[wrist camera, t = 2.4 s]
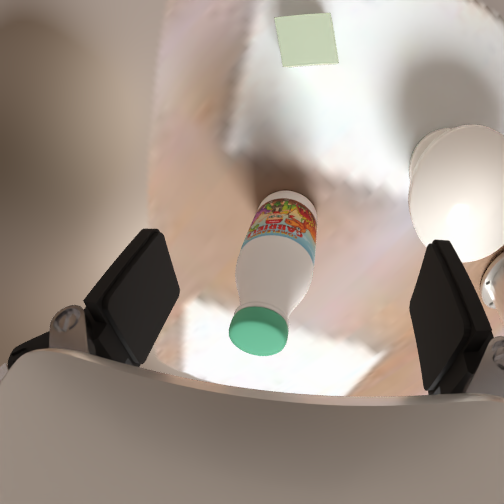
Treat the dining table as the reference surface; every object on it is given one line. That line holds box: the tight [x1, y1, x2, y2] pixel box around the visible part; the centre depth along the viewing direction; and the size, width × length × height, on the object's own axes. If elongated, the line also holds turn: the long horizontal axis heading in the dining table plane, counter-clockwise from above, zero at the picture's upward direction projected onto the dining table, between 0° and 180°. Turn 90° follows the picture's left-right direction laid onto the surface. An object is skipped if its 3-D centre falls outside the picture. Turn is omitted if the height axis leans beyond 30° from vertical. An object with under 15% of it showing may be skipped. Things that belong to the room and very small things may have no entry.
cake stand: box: [408, 124, 504, 262], centre depth 26 cm, size 15×15×8 cm
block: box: [274, 13, 339, 67], centre depth 23 cm, size 5×5×6 cm
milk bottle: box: [229, 191, 317, 356], centre depth 30 cm, size 8×8×20 cm
